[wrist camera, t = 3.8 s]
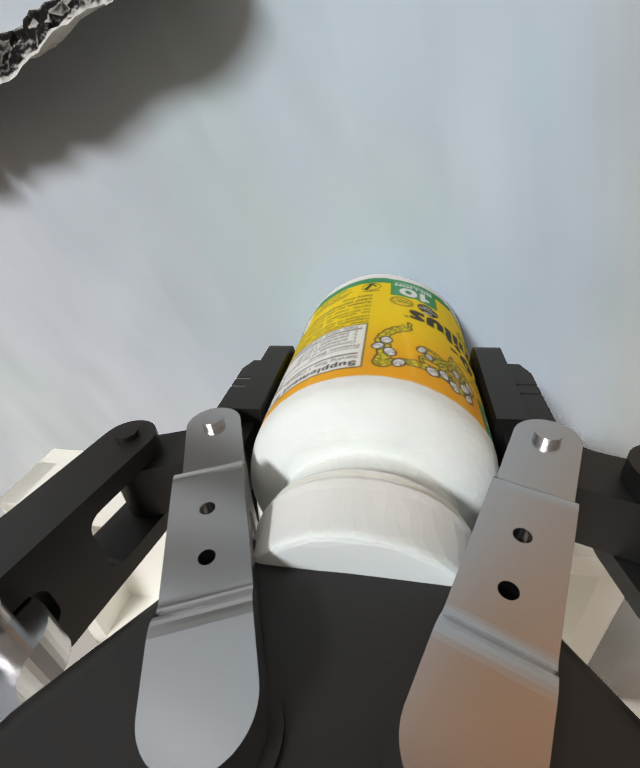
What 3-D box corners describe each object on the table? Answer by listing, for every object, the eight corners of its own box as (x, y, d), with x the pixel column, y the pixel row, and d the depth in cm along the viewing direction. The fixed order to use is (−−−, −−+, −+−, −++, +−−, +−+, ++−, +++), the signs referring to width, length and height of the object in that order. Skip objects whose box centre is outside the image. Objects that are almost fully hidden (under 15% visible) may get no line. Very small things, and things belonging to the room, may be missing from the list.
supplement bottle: (279, 317, 15) (129, 551, 7) (417, 236, 12) (440, 443, 4) (356, 425, 17) (312, 704, 9) (487, 372, 14) (592, 684, 6)
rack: (600, 482, 16) (643, 562, 13) (538, 639, 22) (558, 717, 19) (53, 448, 21) (-4, 501, 18) (130, 586, 27) (97, 642, 24)
